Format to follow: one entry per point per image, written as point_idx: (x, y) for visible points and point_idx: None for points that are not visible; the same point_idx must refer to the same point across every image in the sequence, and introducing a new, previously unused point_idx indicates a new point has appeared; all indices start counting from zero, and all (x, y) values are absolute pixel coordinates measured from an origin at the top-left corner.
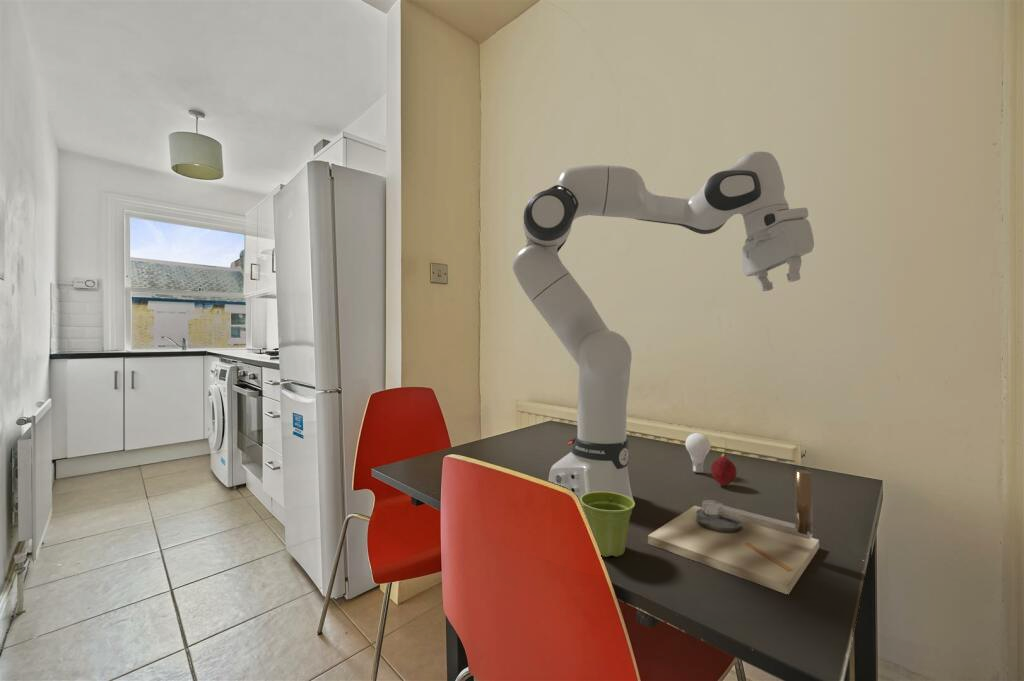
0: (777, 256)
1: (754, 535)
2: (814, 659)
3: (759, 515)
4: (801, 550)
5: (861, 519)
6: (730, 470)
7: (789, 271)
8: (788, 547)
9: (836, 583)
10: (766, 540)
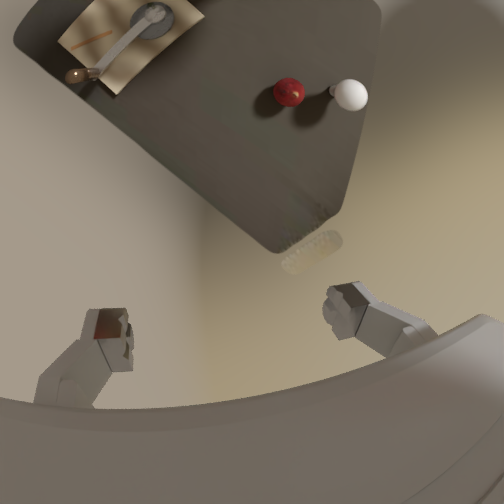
0: (110, 446)
1: None
2: (18, 38)
3: (122, 47)
4: None
5: (177, 170)
6: (276, 92)
7: (85, 344)
8: None
9: None
10: None
